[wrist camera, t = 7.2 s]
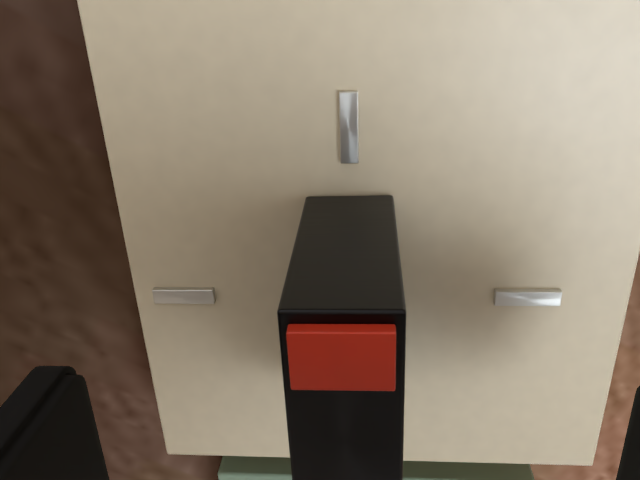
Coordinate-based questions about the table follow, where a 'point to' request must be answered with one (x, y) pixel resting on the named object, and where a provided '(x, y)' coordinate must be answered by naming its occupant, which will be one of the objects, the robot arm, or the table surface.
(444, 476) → the power switch
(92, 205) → the table surface
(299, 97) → the panel
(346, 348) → the knob
